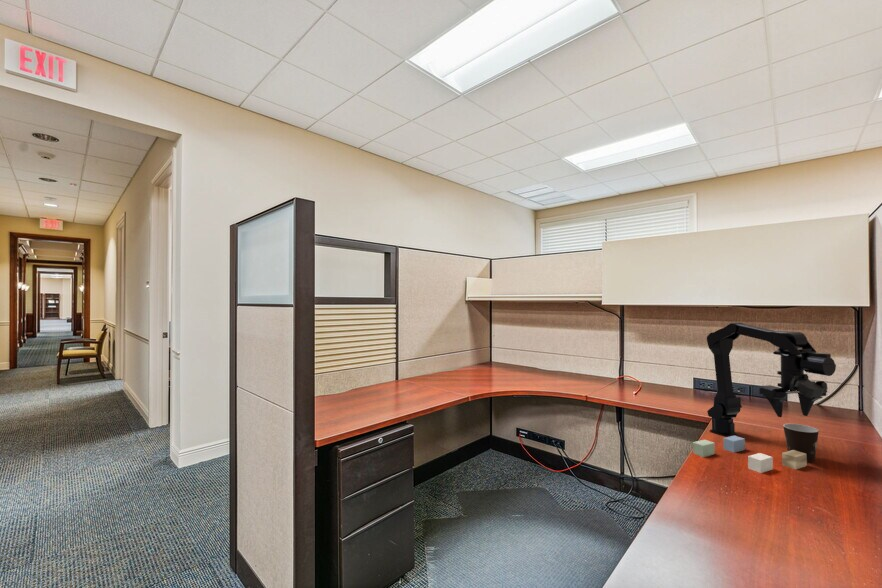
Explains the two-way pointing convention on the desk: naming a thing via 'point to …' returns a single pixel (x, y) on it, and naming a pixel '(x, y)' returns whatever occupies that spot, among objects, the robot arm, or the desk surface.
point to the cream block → (760, 462)
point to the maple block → (794, 459)
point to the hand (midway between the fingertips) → (792, 416)
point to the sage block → (704, 448)
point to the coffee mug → (801, 439)
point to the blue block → (734, 443)
